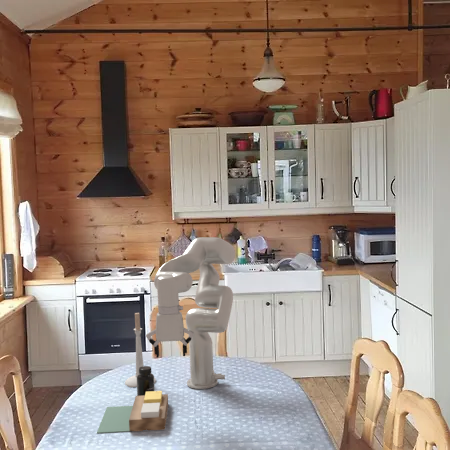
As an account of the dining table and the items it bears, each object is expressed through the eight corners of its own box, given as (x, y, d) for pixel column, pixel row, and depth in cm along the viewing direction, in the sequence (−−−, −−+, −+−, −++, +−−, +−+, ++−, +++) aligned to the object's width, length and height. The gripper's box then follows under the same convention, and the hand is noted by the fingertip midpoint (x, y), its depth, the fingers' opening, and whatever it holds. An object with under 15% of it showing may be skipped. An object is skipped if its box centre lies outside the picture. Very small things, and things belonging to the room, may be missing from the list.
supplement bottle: (151, 401, 224) (150, 371, 223) (134, 400, 226) (133, 370, 225) (157, 394, 231) (155, 365, 230) (140, 394, 232) (139, 364, 231)
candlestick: (120, 381, 248) (116, 312, 245) (147, 375, 255) (144, 307, 252) (132, 390, 237) (129, 317, 235) (161, 383, 244) (157, 312, 242)
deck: (168, 404, 221) (167, 394, 220) (165, 429, 199) (164, 418, 199) (136, 406, 220) (135, 395, 220) (129, 431, 198) (128, 420, 198)
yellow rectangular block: (162, 395, 219) (162, 390, 219) (160, 404, 211) (160, 398, 211) (146, 396, 219) (145, 391, 218) (144, 405, 211) (143, 399, 210)
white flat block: (160, 408, 207) (160, 402, 207) (158, 417, 199) (158, 411, 199) (143, 408, 207) (143, 403, 207) (141, 418, 199) (140, 412, 199)
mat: (139, 406, 220) (139, 405, 220) (132, 431, 198) (132, 430, 198) (107, 407, 220) (106, 407, 220) (96, 433, 198) (96, 432, 198)
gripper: (193, 306, 216) (195, 351, 218) (146, 308, 216) (148, 353, 217) (192, 311, 209) (194, 358, 210) (143, 313, 208) (146, 360, 210)
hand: (171, 355), depth 214 cm, fingers open, 9 cm apart
